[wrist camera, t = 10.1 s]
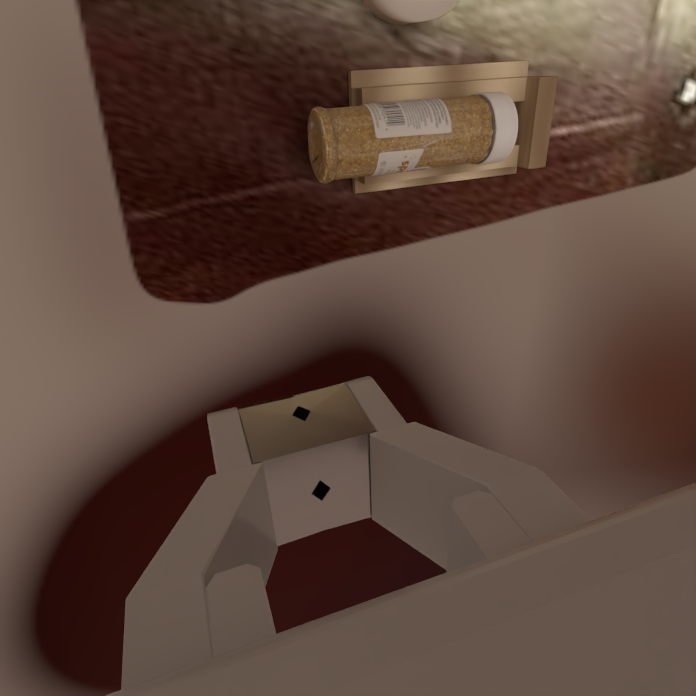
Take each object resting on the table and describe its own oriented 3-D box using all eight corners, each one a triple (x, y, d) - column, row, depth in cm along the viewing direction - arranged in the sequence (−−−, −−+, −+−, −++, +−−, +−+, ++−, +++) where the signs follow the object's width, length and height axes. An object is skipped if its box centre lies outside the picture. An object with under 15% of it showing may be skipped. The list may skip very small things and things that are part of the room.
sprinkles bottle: (325, 195, 31) (511, 172, 35) (324, 118, 28) (528, 101, 32) (306, 168, 34) (478, 149, 38) (303, 96, 31) (491, 83, 35)
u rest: (352, 192, 38) (372, 203, 34) (347, 70, 34) (369, 70, 30) (511, 172, 41) (543, 180, 38) (523, 60, 37) (560, 59, 34)
